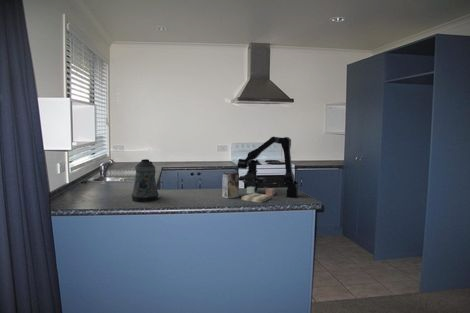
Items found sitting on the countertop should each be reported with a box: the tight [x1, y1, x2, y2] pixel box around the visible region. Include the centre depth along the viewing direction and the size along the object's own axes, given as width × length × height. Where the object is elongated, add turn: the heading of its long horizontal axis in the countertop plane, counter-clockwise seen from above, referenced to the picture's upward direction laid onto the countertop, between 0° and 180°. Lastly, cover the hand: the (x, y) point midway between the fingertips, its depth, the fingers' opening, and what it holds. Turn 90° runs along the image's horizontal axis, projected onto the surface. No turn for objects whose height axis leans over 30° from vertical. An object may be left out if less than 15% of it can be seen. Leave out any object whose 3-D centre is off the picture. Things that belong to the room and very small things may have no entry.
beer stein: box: [131, 158, 159, 203], centre depth 214 cm, size 16×19×25 cm
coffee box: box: [221, 171, 240, 199], centre depth 222 cm, size 9×6×16 cm
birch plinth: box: [240, 192, 272, 204], centre depth 217 cm, size 14×14×2 cm
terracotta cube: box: [265, 187, 275, 197], centre depth 231 cm, size 4×4×4 cm
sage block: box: [246, 185, 258, 194], centre depth 235 cm, size 6×6×4 cm
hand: (252, 191), depth 236 cm, fingers closed on sage block, 5 cm apart
